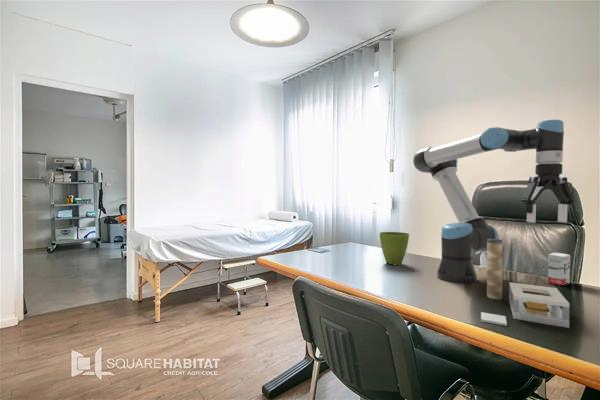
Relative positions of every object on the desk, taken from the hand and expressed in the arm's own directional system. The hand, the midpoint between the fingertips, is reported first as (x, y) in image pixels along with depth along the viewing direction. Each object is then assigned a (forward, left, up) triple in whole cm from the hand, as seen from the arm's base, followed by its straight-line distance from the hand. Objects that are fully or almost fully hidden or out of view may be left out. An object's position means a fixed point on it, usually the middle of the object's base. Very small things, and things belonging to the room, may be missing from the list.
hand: (546, 222), depth 109 cm
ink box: (+7, +17, -26) cm, 32 cm away
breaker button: (-7, -28, -23) cm, 37 cm away
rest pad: (-17, -40, -26) cm, 50 cm away
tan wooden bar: (-16, -17, -26) cm, 35 cm away
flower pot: (-60, +19, -26) cm, 68 cm away
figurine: (-20, +31, -26) cm, 45 cm away
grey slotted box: (-7, -28, -26) cm, 38 cm away
